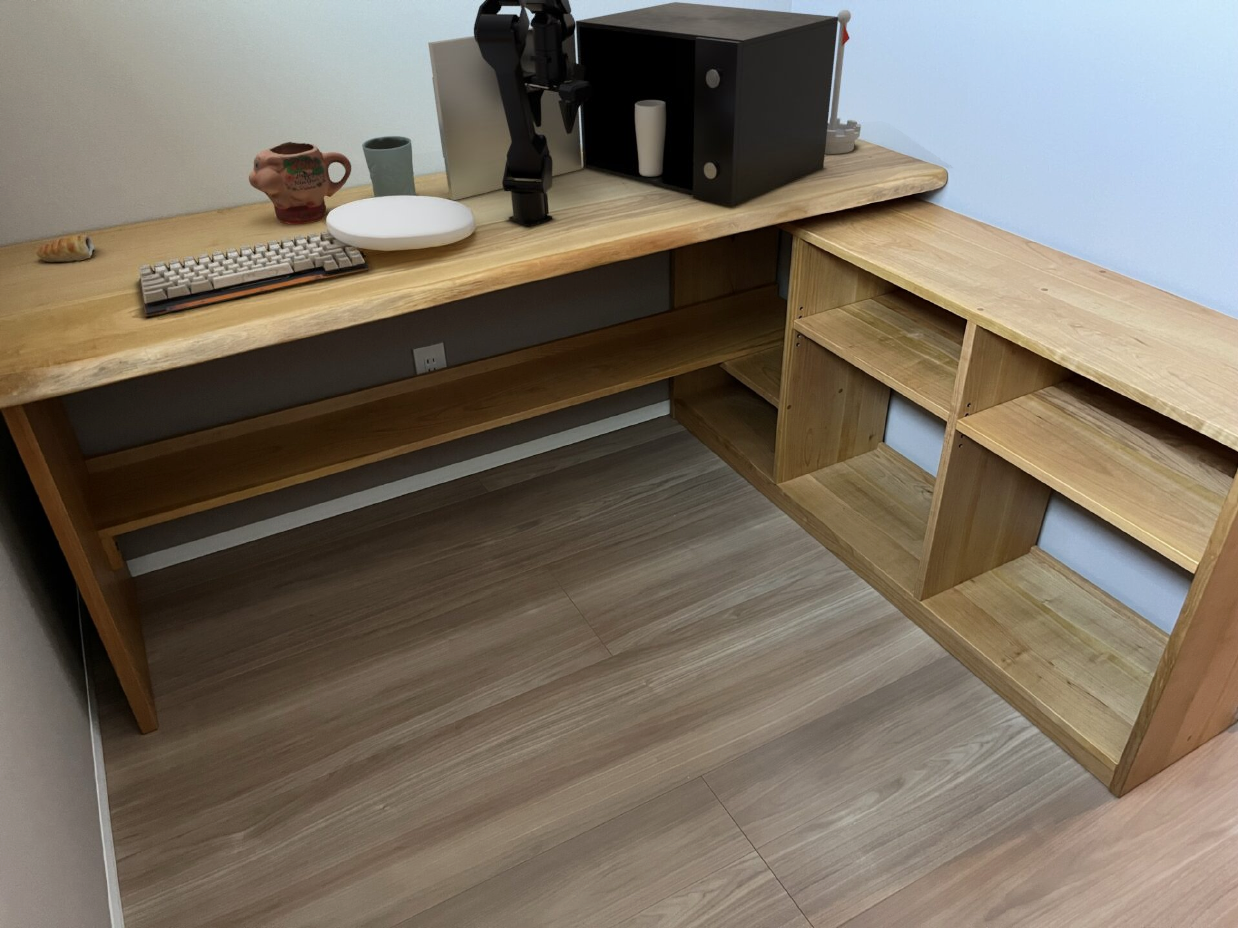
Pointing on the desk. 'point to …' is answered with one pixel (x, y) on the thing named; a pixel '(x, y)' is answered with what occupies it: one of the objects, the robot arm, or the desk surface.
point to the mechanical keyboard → (245, 271)
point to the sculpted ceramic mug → (297, 180)
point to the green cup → (390, 165)
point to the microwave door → (489, 117)
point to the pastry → (67, 249)
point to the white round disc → (401, 222)
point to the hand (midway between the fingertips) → (553, 130)
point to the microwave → (710, 95)
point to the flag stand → (838, 133)
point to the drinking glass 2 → (650, 136)
